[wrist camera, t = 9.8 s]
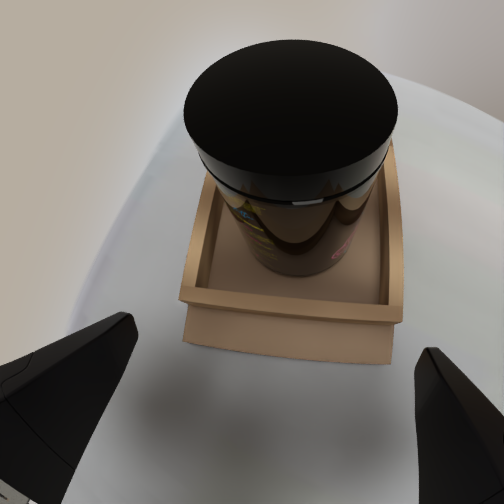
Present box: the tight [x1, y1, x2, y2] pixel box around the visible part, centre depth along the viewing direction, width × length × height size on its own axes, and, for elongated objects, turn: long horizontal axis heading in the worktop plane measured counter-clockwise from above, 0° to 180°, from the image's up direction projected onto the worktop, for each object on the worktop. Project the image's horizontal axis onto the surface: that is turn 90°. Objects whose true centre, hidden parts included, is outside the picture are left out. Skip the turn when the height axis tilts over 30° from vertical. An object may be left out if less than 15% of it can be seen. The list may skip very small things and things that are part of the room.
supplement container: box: [184, 40, 398, 276], centre depth 13 cm, size 7×7×10 cm
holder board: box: [178, 138, 404, 364], centre depth 18 cm, size 20×12×3 cm, turn 172°
